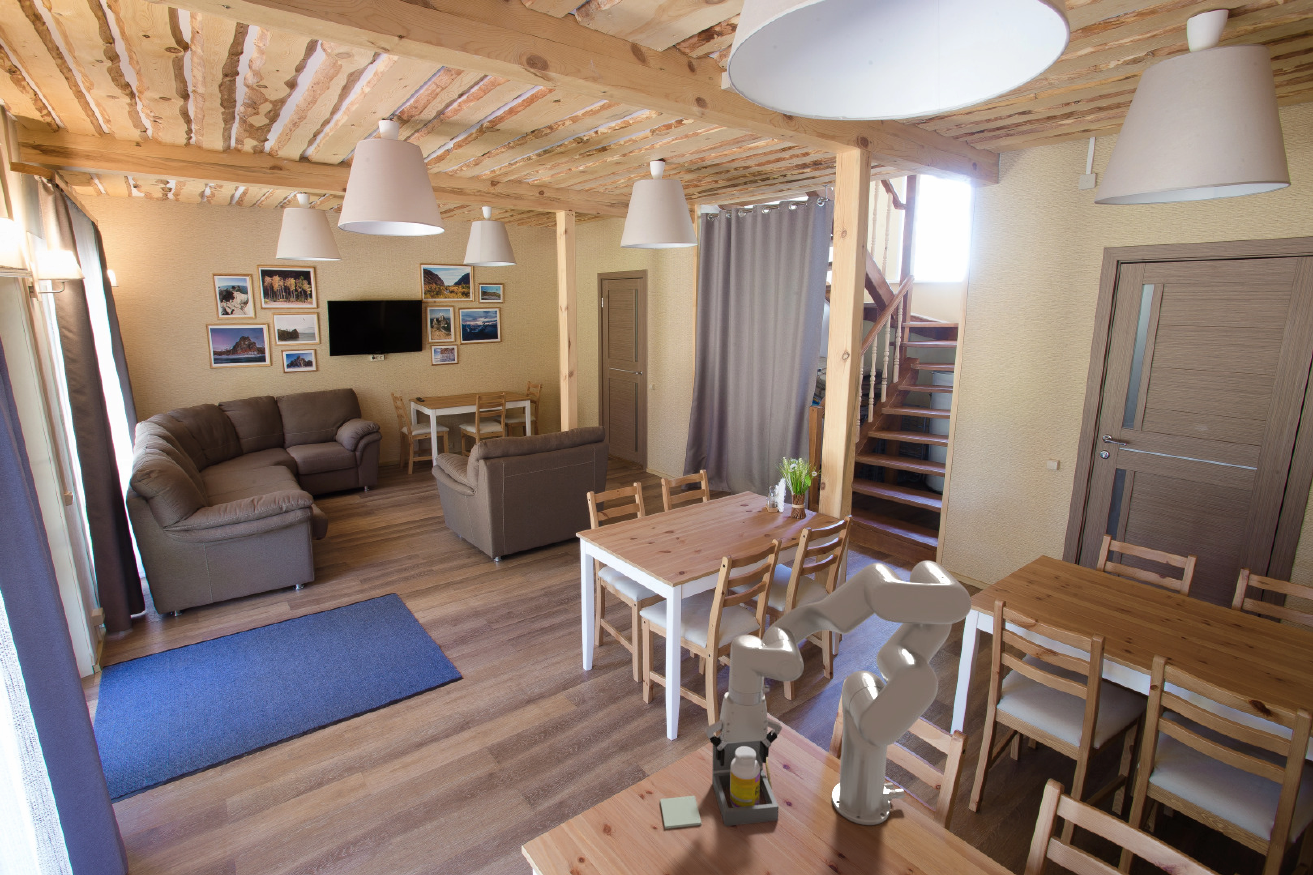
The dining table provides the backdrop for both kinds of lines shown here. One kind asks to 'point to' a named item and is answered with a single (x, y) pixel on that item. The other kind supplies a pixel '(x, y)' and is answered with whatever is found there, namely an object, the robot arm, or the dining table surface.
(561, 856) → the dining table surface
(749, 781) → the supplement bottle
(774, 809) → the case
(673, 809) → the rest pad
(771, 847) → the dining table surface
